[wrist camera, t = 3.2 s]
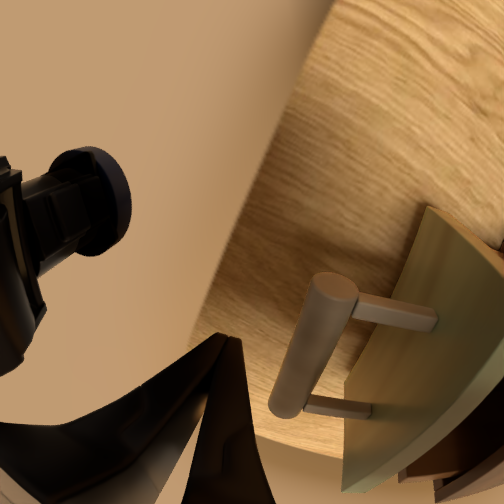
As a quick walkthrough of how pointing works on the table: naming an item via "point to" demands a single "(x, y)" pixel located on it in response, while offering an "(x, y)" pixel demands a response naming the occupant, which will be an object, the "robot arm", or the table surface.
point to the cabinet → (473, 475)
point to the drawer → (409, 361)
